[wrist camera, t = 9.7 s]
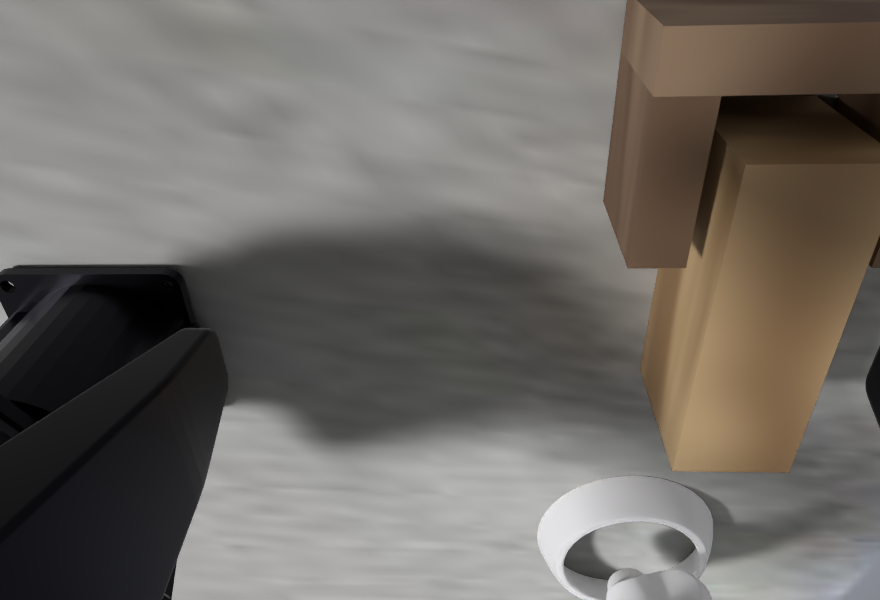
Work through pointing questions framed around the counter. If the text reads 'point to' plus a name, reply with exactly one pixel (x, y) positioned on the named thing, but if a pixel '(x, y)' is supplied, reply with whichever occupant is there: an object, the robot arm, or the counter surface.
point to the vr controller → (626, 500)
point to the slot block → (719, 99)
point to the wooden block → (762, 284)
